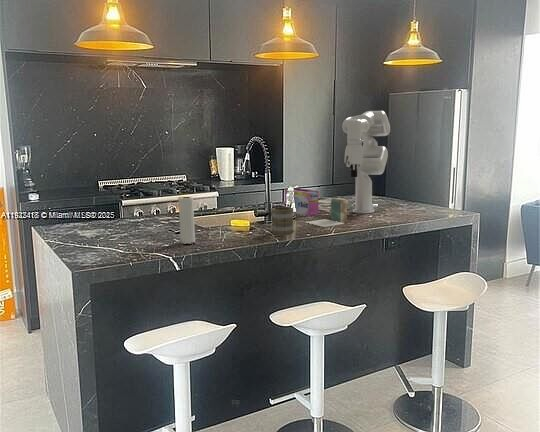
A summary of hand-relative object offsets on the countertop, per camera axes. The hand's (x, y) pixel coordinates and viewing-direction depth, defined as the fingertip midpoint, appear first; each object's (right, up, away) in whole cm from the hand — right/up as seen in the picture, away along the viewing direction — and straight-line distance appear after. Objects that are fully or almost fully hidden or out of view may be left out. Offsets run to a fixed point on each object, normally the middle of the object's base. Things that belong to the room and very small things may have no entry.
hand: (354, 176), depth 293 cm
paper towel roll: (-83, -34, -48) cm, 102 cm away
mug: (-40, -29, -27) cm, 56 cm away
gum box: (-27, -20, +26) cm, 42 cm away
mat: (-17, -25, -8) cm, 31 cm away
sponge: (-9, -24, -2) cm, 26 cm away
